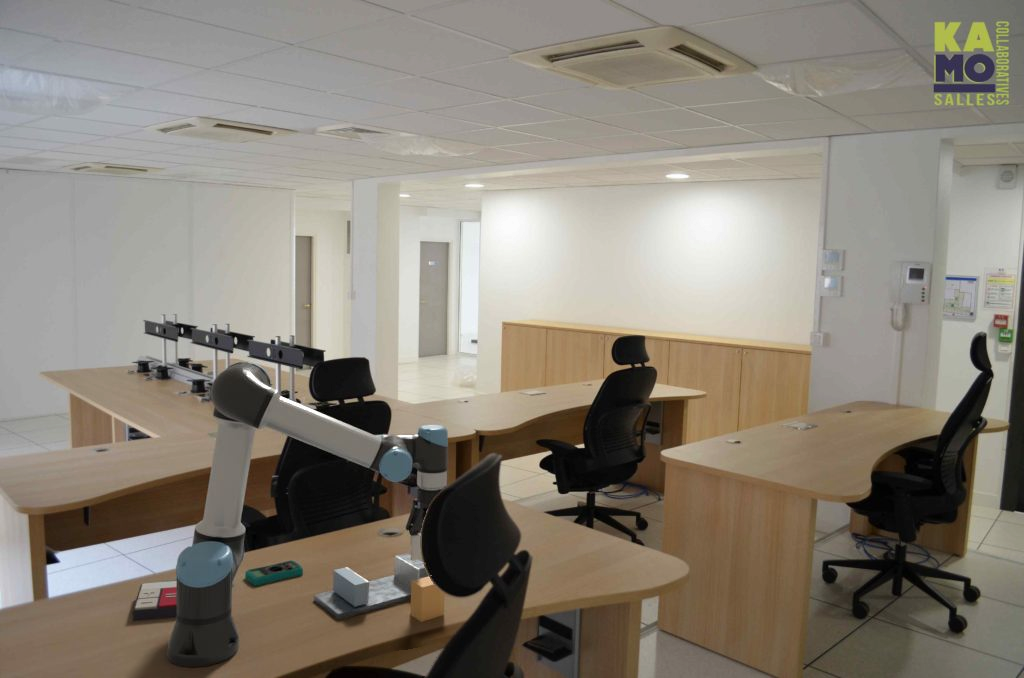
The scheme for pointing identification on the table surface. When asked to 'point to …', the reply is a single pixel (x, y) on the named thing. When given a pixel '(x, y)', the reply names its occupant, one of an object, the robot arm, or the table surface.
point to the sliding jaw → (351, 586)
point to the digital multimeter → (273, 572)
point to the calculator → (155, 601)
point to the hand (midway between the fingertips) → (430, 567)
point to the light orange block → (426, 599)
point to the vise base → (378, 590)
